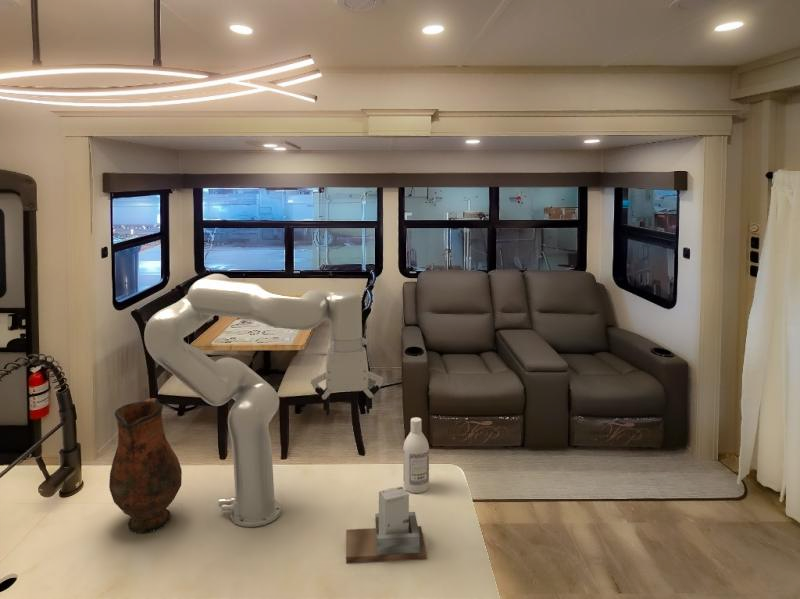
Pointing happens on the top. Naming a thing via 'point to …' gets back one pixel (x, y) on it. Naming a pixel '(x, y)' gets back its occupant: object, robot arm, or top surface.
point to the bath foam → (416, 459)
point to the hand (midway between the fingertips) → (348, 412)
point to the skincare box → (393, 511)
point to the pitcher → (144, 467)
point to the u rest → (385, 544)
